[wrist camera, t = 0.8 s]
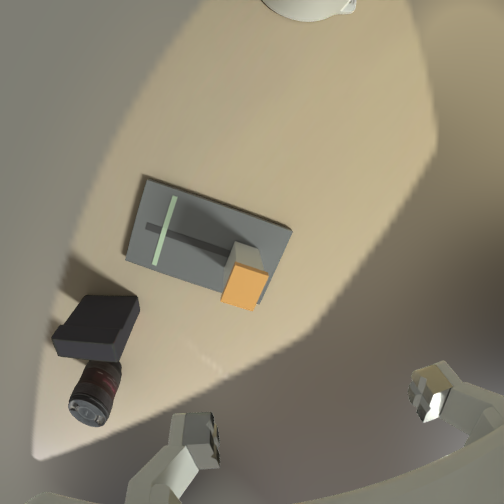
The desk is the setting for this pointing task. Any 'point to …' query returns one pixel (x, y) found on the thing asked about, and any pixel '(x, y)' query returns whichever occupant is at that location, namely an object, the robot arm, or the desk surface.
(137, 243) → the fader console
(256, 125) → the desk surface
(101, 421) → the camera lens
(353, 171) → the desk surface
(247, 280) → the fader knob
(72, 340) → the calculator
